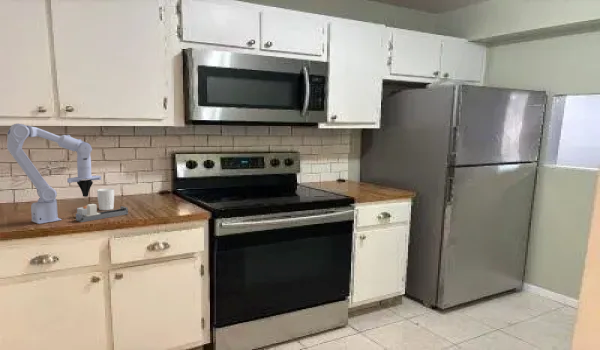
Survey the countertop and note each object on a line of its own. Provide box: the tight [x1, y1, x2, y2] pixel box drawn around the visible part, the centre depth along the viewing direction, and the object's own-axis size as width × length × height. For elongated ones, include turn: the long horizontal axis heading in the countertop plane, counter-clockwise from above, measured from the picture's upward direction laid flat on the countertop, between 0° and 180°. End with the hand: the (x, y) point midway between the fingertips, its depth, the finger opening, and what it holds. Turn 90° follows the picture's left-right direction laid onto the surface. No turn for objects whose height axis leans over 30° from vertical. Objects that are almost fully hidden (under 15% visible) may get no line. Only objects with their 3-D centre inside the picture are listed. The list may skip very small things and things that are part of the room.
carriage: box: [84, 203, 100, 217], centre depth 184 cm, size 6×3×6 cm, turn 143°
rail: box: [75, 205, 129, 223], centre depth 188 cm, size 22×5×3 cm, turn 143°
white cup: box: [96, 187, 115, 211], centre depth 205 cm, size 8×8×10 cm
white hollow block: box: [76, 206, 87, 215], centre depth 190 cm, size 6×5×4 cm
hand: (85, 196), depth 189 cm, fingers closed
